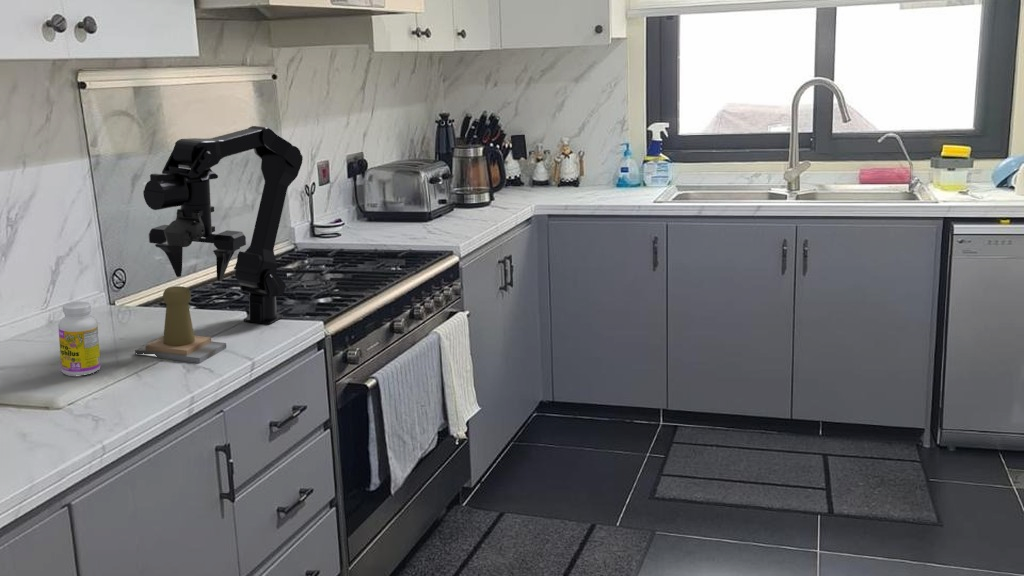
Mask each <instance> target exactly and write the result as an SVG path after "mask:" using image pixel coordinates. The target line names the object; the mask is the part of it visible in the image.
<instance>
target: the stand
mask: <svg viewBox="0 0 1024 576" xmlns="http://www.w3.org/2000/svg"><path fill="white" fill-rule="evenodd" d="M163 338H164V335H163V336H161V337H159V338H156V339H154V340H153V341H150V342H148V343H147V344H145V345H143V346H141V347H138V348H136V349H135V353H134V354H136V353H137V354H143V353H144V354H155V355H156V356H157V358H158V359H165V360H173V361H174V360H175V361H180V362H190V363H197V364H201V363H203V362H204V361H206V360H208V359H209V358H211V357H213V356H215V355H217V354H218V353H220V352H222V351H223V350H225V349H227V343H226V342H219V341H213V340H212V337H210V336H202V335H195V334H194V338H195V341H194V342H193V343H191V344H188V345H182V346H171V345H166V344H164V343H163ZM157 358H156V359H157Z"/></svg>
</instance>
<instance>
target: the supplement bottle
mask: <svg viewBox="0 0 1024 576" xmlns="http://www.w3.org/2000/svg"><path fill="white" fill-rule="evenodd" d="M91 311H92V305H91V303H90V302H88V301H70V302H67V303H65V304H63V305H62V312H63V314H64V317H62V318H61V319H60V320H59V322H58V325H57V326H58V328H57V329H58V341H59V354H60V365H61V366H60V368H61V373H63V374H64V375H65V376H69V377H77V376H76V375H84V374H89V373H93V372H95V371H97V370H99V371H100V369H101V354H100V353H101V352H100V339H99V324H98V323H99V322H98V320H97V318H96V317H95V316H93V315H92V314H91ZM97 372H98V371H97ZM93 374H94V373H93Z"/></svg>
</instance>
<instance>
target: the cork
mask: <svg viewBox="0 0 1024 576" xmlns="http://www.w3.org/2000/svg"><path fill="white" fill-rule="evenodd" d="M162 299H163V302H164V303H165V304H166V308H165V318H164V329H163V336H164V338H163V343H164V344H166V345H171V346H182V345H188V344H191V343H193V342H194V341H195V338H194V335H195V333H194V328H193V322H192V317H191V312H190V307H189V306H190V305H189V303H190V302H191V299H192V293H191V291H190V289H189V288H188V287H185V286H180V285H179V286H170V287H169V286H168V287H167V288H166V289H164V291H163V293H162Z"/></svg>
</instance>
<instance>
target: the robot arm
mask: <svg viewBox="0 0 1024 576" xmlns="http://www.w3.org/2000/svg"><path fill="white" fill-rule="evenodd" d="M174 144H175V145H174V146H173V149H172V151H171V154H170V155H169V157H168V160H167V161H166V163H165V165H164V167H163V169H162V171H161V173H150V175H149V181H147V182H146V184H145V186H144V189H143V199H144V201H145V202H144V203H146V205H147V206H148V208H150V209H151V210H153V211H158V210H165V209H170V208H171V209H172V208H175V207H180V208H178V209H177V210H176V217H175V220H172V221H171V222H170V223H169V224H162V225H159V226H156V227H155V226H154V227H153V228H151V229H150V230H149V232H148V242H149V244H154V246H155V247H156V248H159V249H160V250H161V251H163V252H164V253H165V255H166V257H167V259H168V260H169V262H170V265H171V267H172V269H173V272H174V274H175V277H176V278H180V277H182V273H183V253H184V252H183V248H187V247H189V246H191V245H192V242H194V243H205V244H206V243H208V244H213V246H214V247H215V248H216V249H214V250H212V252H213V254H214V256H215V258H216V279H217V282H221V281H223V279H224V275H225V273H226V272H227V268H228V266H229V264H230V261H231V259H232V257H233V255H234V254H235V252H236V251H239V250H240V249H241V248H242V247H244V246H246V245H247V241H246V239H247V237H246V235H245V234H244V233H243V231H238V230H229V229H228V230H224V231H222V232H218V233H215V232H216V226H215V225H214V226H213V225H212V213H215V206H212V205H211V185H210V184H211V183H210V182H211V181H210V180H216V179H218V178H219V175H218V174H217V173H216V172H214V171H213V170H212V169H211V168H212V167H215V166H217V165H218V164H219V163H220V161H221V160H223V159H224V158H227V157H230V156H233V155H237V154H241V153H244V152H247V151H251V150H253V151H254V154H255V155H256V156H257V157H259V159H261V163H260V170H261V174H262V176H263V180H264V185H263V188H262V189H263V190H262V194H261V198H260V203H259V207H258V209H257V213H256V219H255V223H254V228H253V233H252V237H251V242H250V245H249V247H248V248H247V249H245V251H241V250H240V251H239V252H238V254H237V257H236V262H235V265H234V268H233V270H234V271H235V272H234V273H235V275H234V277H235V279H236V281H237V283H238V285H239V289H240V291H241V292H243V293H249V295H248V297H249V301H248V303H249V304H248V305H249V310H248V311H249V315H248V316H246V317H245V318H243V322H246V323H247V322H248V323H256V324H266V325H272V324H273V323H275V322H276V321H278V320H280V319H281V318H283V314H282V313H281V314H280V313H277V297H280V296H281V295H283V294H284V293H285V290H286V285H287V284H286V283H285V282H284V281H283V279H281V277H279V275H278V274H277V270H278V262H277V259H276V255H275V252H274V250H275V249H274V248H275V243H276V240H277V236H278V232H279V231H278V230H279V226H280V223H281V219H282V215H283V214H282V213H283V208H284V206H285V205H284V204H285V200H286V195H287V191H288V189H289V186H291V184H292V183H293V182H294V180H296V178H297V177H298V175H299V173H300V171H301V167H302V164H303V154H301V151H300V149H299V147H298V146H295V145H293V144H292V143H291V142H289V141H287V140H286V139H284V138H283V137H281V136H279V135H278V134H276V132H275V131H273V129H271V128H269V127H268V126H267V127H266V126H258V125H257V126H256V125H252V126H250V127H248V128H244V129H241V130H237V131H233V132H230V133H226V134H222V135H218V136H215V137H211V138H200V137H199V138H197V137H196V138H195V137H194V138H180V139H178V140H177V141H175V143H174Z"/></svg>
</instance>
